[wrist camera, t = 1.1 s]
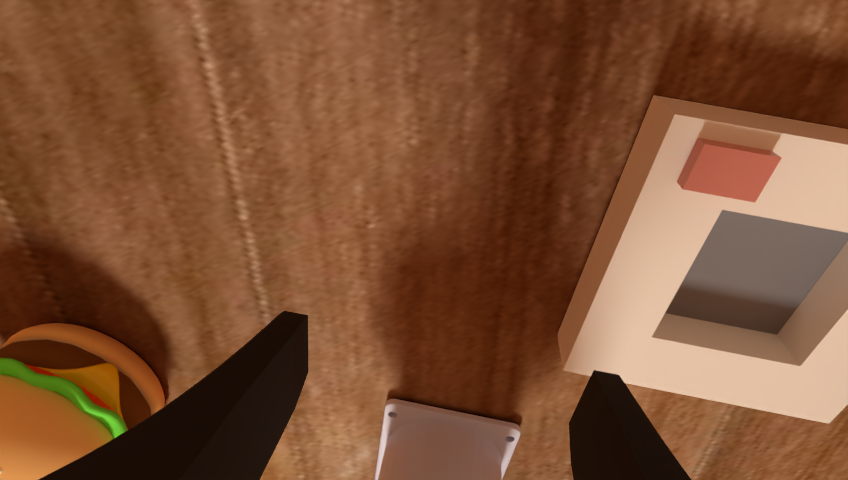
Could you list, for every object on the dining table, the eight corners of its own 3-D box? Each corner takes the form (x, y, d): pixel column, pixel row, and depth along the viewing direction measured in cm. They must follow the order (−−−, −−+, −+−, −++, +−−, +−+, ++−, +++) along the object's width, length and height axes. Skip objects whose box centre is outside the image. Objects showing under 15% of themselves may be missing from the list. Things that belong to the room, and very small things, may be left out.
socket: (799, 381, 23) (837, 435, 20) (557, 334, 23) (564, 380, 21) (993, 154, 16) (1084, 191, 14) (653, 95, 17) (681, 119, 14)
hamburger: (202, 445, 33) (118, 584, 26) (46, 418, 34) (-77, 545, 27) (163, 318, 27) (37, 455, 19) (-28, 289, 28) (-217, 410, 20)
